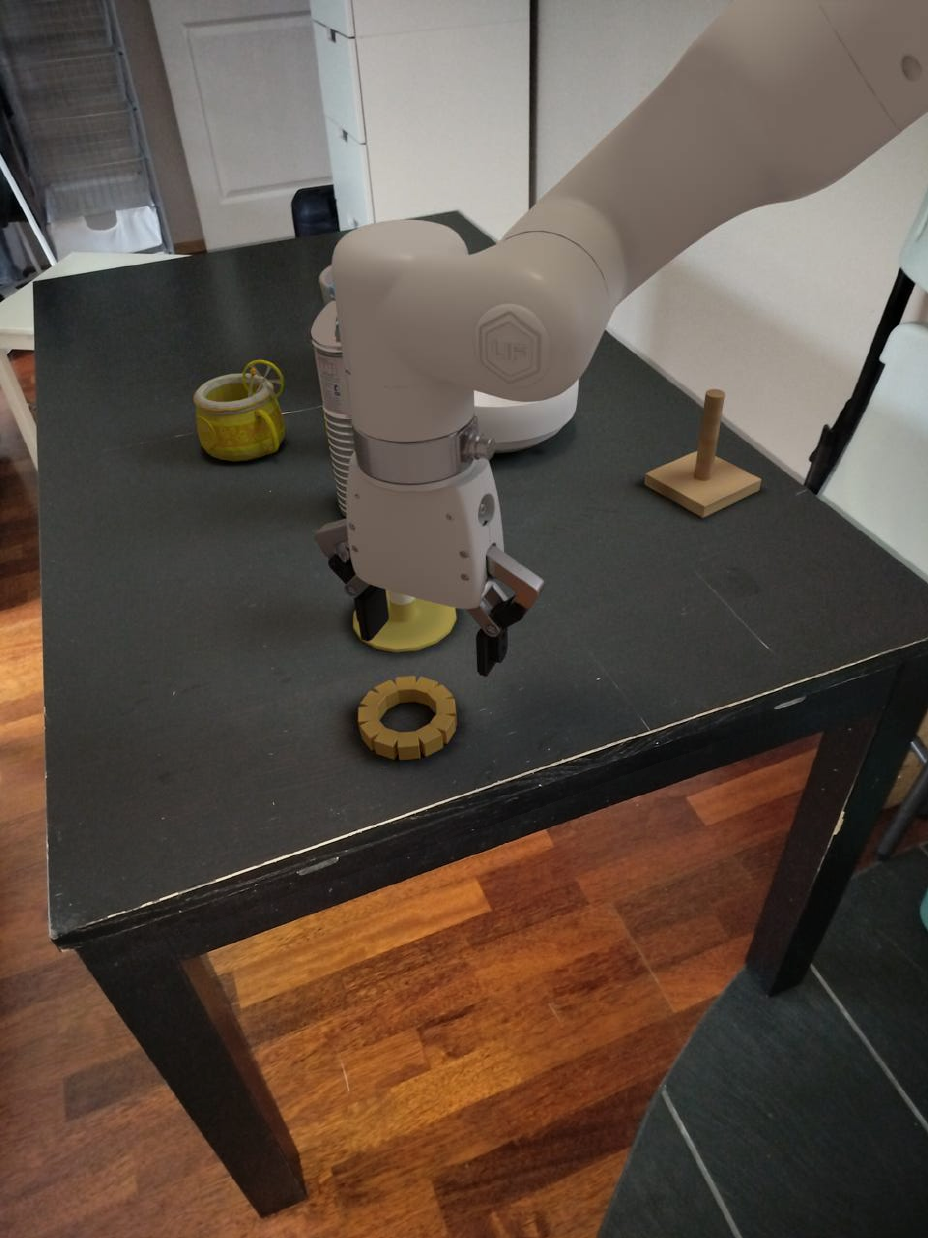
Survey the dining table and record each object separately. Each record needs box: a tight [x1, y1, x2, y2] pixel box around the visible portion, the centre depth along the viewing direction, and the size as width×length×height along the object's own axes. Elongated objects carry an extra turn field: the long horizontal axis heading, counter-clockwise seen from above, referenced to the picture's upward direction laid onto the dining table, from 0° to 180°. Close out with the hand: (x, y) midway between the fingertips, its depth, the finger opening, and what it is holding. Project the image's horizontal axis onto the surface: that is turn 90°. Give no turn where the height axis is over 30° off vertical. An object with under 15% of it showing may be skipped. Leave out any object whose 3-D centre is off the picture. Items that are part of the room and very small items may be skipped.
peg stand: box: [644, 388, 762, 519], centre depth 94 cm, size 9×9×12 cm
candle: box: [347, 542, 457, 653], centre depth 73 cm, size 10×10×27 cm
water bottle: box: [310, 283, 355, 519], centre depth 89 cm, size 7×7×25 cm
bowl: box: [474, 378, 580, 454], centre depth 107 cm, size 20×20×8 cm
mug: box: [192, 359, 287, 462], centre depth 106 cm, size 13×11×12 cm
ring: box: [357, 675, 458, 761], centre depth 71 cm, size 8×8×2 cm
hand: (431, 646), depth 64 cm, fingers open, 9 cm apart
